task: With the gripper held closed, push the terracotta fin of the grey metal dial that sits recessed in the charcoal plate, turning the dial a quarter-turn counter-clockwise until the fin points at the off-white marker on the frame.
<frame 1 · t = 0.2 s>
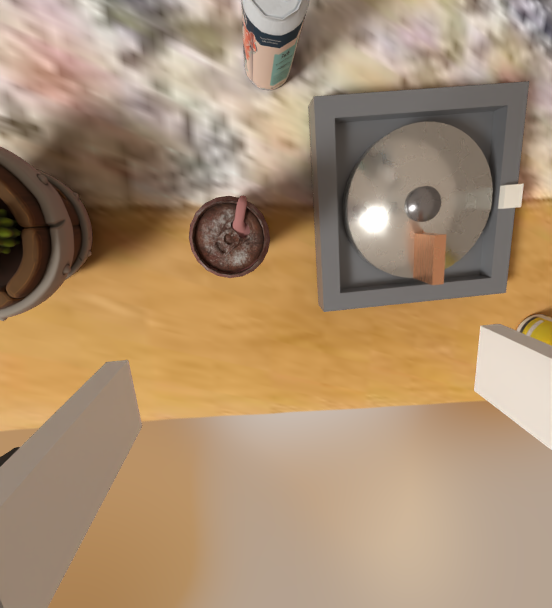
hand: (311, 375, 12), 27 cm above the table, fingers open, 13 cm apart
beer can: (267, 66, 33), on the table
supplement bottle: (531, 332, 44), on the table
can: (237, 229, 37), on the table
dial: (425, 204, 34), point 4 cm above the table, hinge at 0.0°
dial plate: (406, 205, 38), on the table
flowerpot: (45, 228, 36), on the table
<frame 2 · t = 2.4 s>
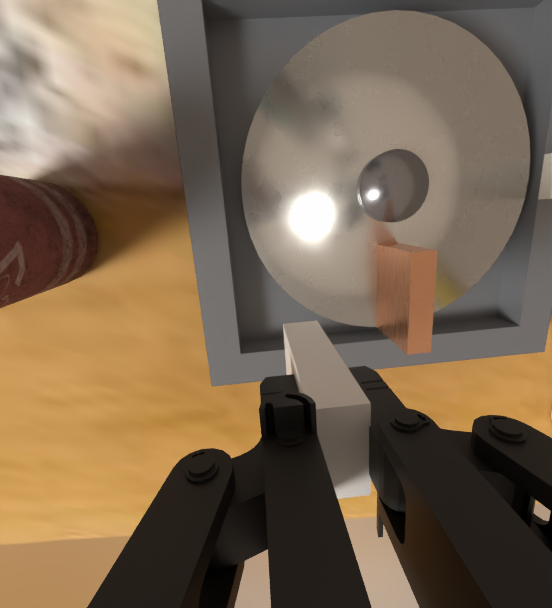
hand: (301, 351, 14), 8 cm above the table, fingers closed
can: (51, 231, 20), on the table
dial: (397, 186, 17), point 4 cm above the table, hinge at 0.0°
dial plate: (367, 192, 21), on the table
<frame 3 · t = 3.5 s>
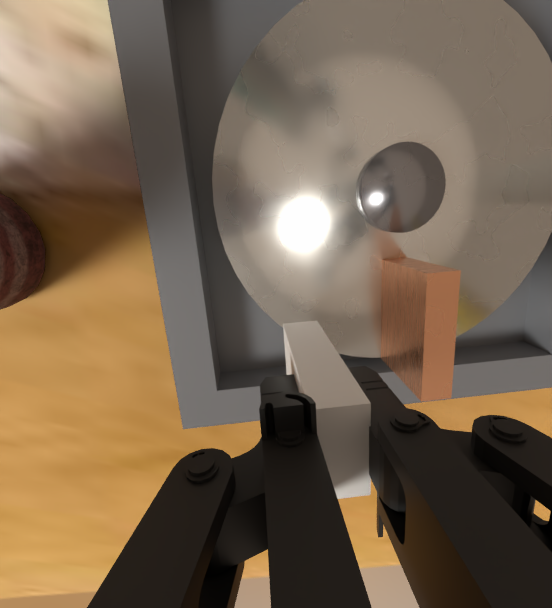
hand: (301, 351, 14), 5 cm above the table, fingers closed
dial: (406, 188, 13), point 4 cm above the table, hinge at 0.0°
dial plate: (369, 195, 17), on the table
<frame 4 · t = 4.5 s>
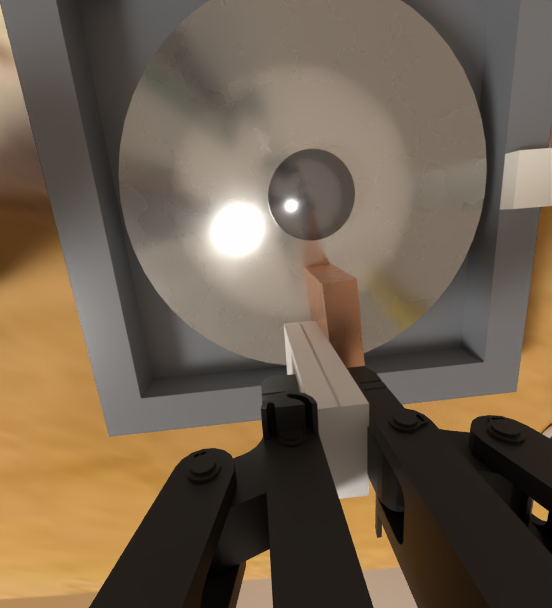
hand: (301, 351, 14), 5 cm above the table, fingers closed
dial: (312, 195, 13), point 4 cm above the table, hinge at 4.5°, touching gripper
dial plate: (298, 201, 17), on the table
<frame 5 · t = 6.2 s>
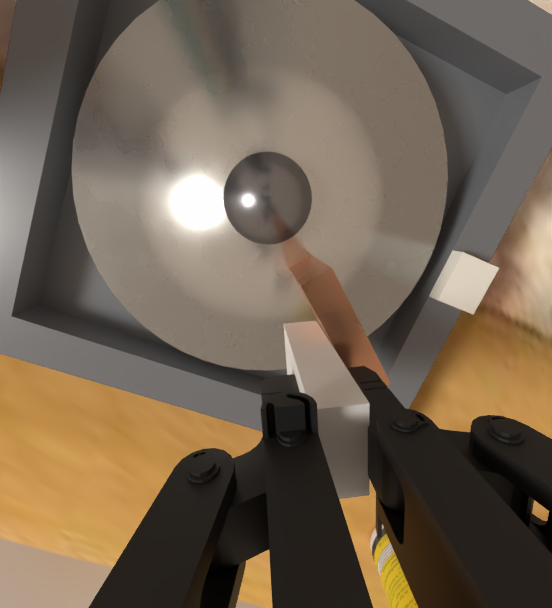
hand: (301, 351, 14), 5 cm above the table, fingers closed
supplement bottle: (402, 532, 24), on the table
dial: (268, 199, 13), point 4 cm above the table, hinge at 50.8°, touching gripper
dial plate: (264, 203, 17), on the table
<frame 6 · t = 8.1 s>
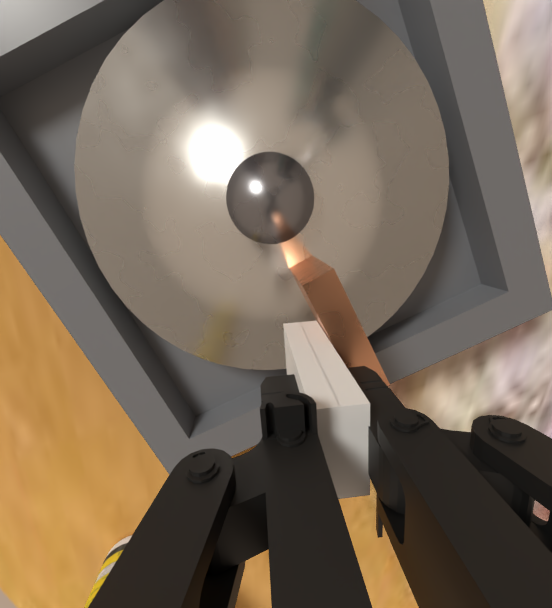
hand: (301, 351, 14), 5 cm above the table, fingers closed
supplement bottle: (148, 556, 23), on the table
dial: (270, 199, 13), point 4 cm above the table, hinge at 92.6°, touching gripper
dial plate: (266, 203, 17), on the table
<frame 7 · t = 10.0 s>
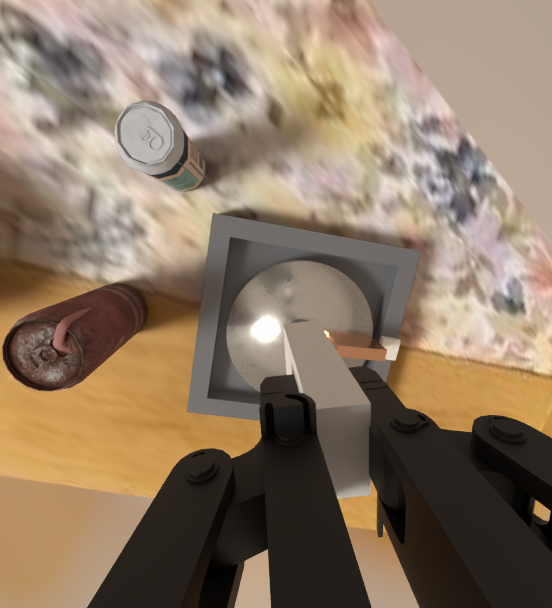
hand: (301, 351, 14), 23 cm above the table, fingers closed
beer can: (183, 168, 34), on the table
can: (122, 308, 36), on the table
dial: (302, 337, 34), point 4 cm above the table, hinge at 92.7°
dial plate: (296, 326, 38), on the table
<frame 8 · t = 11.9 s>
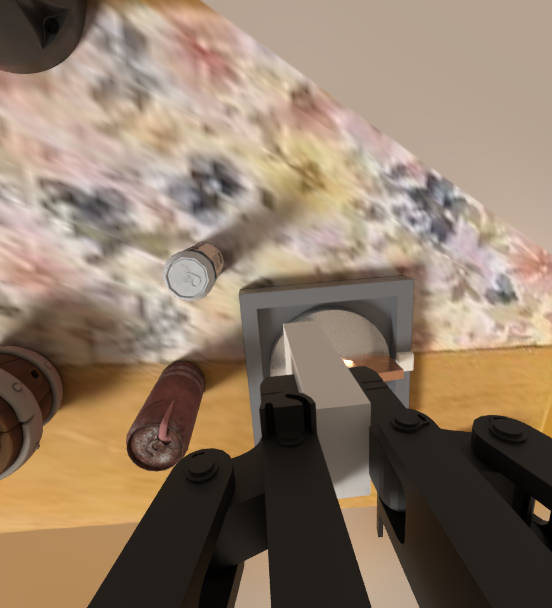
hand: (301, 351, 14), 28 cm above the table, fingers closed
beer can: (205, 261, 41), on the table
can: (184, 378, 45), on the table
dial: (332, 372, 41), point 4 cm above the table, hinge at 92.7°
dial plate: (325, 358, 46), on the table
flowerpot: (24, 380, 43), on the table
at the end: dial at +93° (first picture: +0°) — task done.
